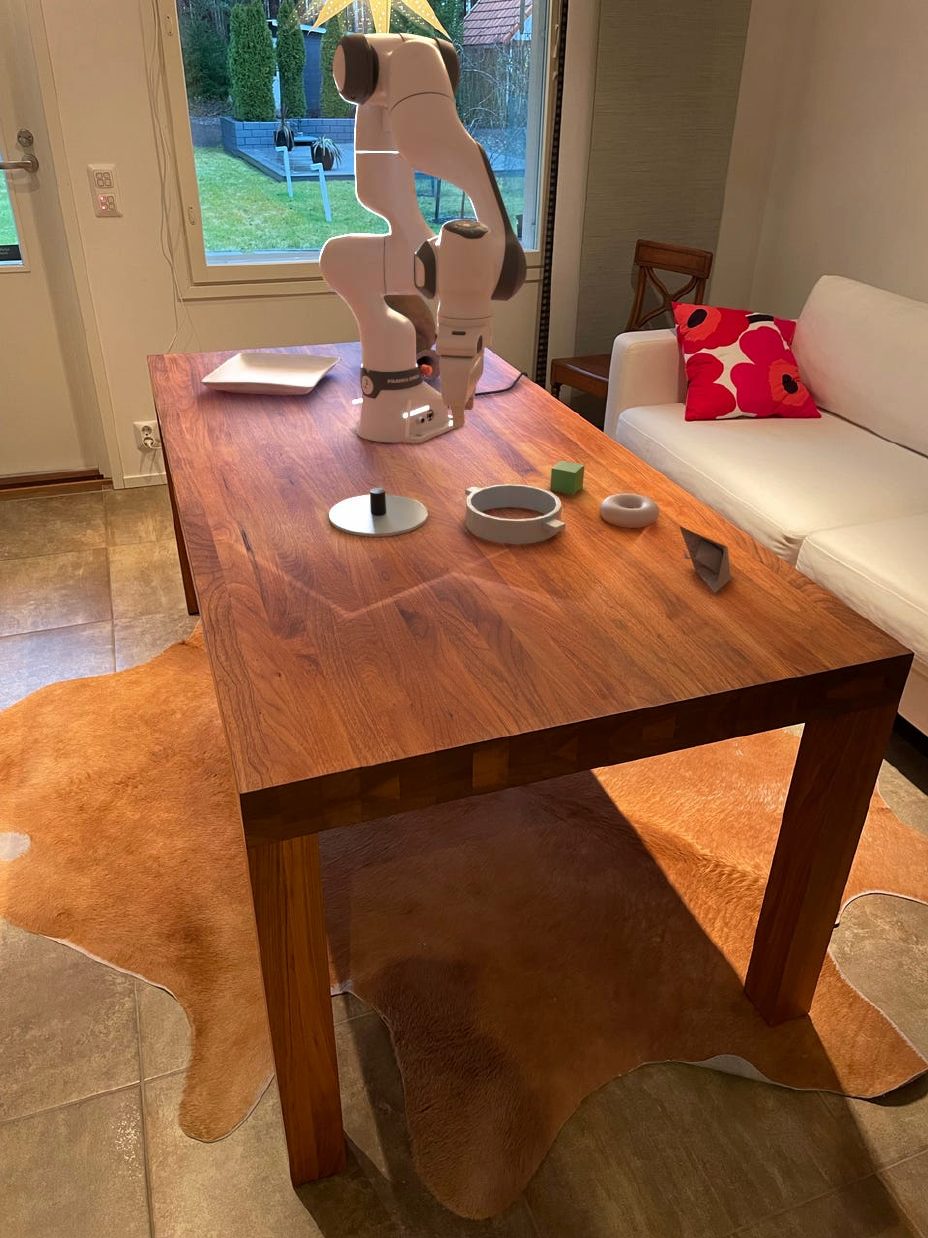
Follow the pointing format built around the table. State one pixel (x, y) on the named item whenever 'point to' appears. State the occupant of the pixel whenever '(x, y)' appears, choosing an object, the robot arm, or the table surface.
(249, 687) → the table surface
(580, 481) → the block
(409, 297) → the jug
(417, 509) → the pan lid
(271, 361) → the square plate
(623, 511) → the donut
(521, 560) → the table surface
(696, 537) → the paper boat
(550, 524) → the pan
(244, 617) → the table surface
